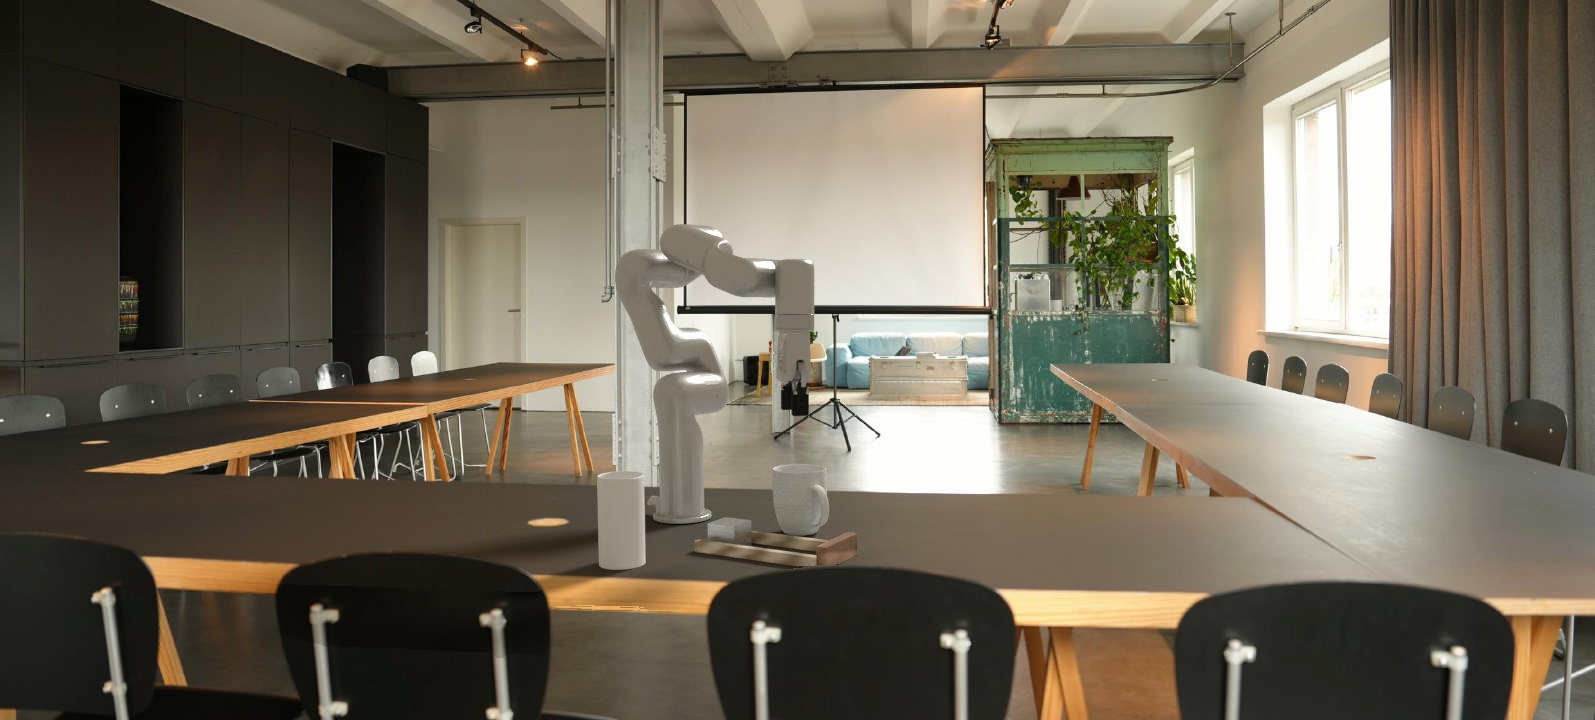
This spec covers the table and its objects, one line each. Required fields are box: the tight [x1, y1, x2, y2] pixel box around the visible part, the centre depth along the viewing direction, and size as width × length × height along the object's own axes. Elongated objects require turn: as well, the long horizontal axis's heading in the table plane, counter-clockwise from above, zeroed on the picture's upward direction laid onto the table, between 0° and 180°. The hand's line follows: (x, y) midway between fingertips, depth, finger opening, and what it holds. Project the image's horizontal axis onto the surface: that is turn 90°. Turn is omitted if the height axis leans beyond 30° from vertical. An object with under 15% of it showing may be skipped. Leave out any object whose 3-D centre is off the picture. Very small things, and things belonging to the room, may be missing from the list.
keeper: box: [707, 516, 753, 547], centre depth 182 cm, size 6×6×5 cm
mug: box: [772, 463, 830, 537], centre depth 192 cm, size 15×11×13 cm
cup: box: [596, 470, 647, 571], centre depth 171 cm, size 8×8×16 cm
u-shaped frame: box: [693, 530, 858, 568], centre depth 177 cm, size 28×12×4 cm, turn 60°
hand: (794, 412), depth 184 cm, fingers open, 9 cm apart
